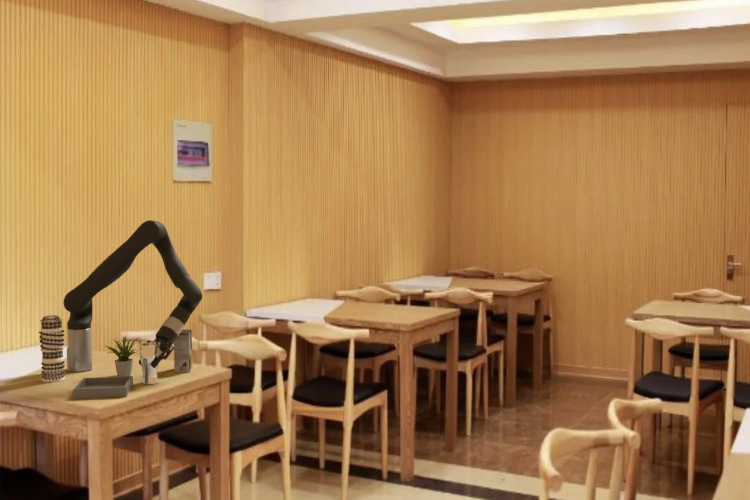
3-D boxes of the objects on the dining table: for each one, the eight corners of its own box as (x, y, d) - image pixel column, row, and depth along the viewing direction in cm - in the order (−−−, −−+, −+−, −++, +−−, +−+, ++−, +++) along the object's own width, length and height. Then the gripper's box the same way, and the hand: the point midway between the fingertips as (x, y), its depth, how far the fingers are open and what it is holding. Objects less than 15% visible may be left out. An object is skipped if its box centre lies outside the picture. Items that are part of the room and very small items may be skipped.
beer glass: (163, 381, 327) (162, 342, 326) (152, 385, 320) (151, 346, 319) (147, 380, 329) (146, 341, 328) (137, 384, 323) (136, 345, 322)
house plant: (134, 369, 349) (132, 330, 348) (151, 374, 339) (150, 334, 338) (101, 374, 339) (100, 334, 338) (118, 380, 329) (117, 338, 328)
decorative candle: (63, 381, 327) (61, 317, 325) (38, 382, 326) (36, 318, 324) (68, 376, 336) (66, 314, 334) (43, 377, 335) (41, 314, 333)
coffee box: (177, 367, 352) (176, 329, 350) (192, 367, 352) (192, 329, 351) (173, 372, 342) (172, 333, 341) (190, 372, 343) (189, 332, 342)
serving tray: (74, 398, 301) (73, 389, 300) (83, 387, 318) (83, 377, 318) (126, 396, 303) (126, 387, 303) (133, 385, 321) (132, 376, 321)
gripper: (152, 323, 334) (128, 357, 325) (176, 326, 325) (152, 362, 317) (163, 334, 338) (140, 369, 330) (187, 338, 330) (164, 373, 321)
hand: (146, 365), depth 323 cm, fingers closed on beer glass, 6 cm apart
